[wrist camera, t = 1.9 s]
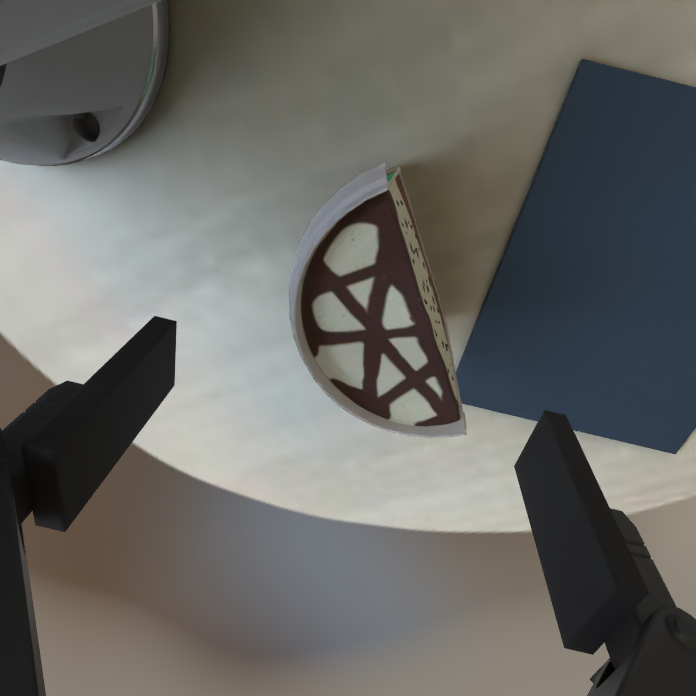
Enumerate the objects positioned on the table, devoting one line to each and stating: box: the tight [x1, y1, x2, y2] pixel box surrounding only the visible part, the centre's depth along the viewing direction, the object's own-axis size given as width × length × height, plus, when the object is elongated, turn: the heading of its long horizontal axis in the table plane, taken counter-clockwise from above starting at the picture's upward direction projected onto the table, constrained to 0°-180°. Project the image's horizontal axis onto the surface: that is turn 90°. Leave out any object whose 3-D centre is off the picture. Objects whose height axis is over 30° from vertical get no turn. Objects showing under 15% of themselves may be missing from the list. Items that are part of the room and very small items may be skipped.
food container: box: [289, 162, 467, 438], centre depth 24 cm, size 12×6×10 cm, turn 20°
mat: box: [456, 59, 696, 454], centre depth 27 cm, size 16×20×1 cm
